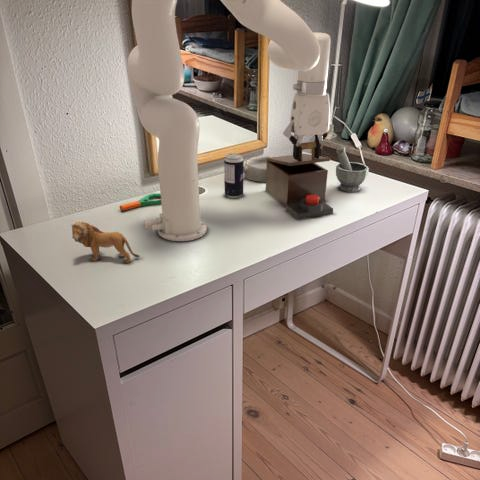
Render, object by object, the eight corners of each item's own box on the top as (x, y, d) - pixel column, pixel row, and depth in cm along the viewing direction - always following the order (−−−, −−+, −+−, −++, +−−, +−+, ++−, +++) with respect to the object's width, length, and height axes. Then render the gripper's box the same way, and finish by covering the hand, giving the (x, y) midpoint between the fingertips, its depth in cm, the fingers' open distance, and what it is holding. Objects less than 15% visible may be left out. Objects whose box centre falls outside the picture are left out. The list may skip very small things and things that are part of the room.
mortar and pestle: (371, 188, 153) (377, 149, 147) (354, 196, 148) (360, 156, 141) (341, 180, 160) (345, 142, 153) (324, 187, 154) (328, 148, 147)
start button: (309, 206, 133) (310, 200, 132) (303, 201, 136) (303, 195, 135) (321, 204, 134) (321, 198, 133) (314, 200, 137) (315, 194, 136)
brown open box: (324, 201, 144) (328, 170, 139) (286, 207, 140) (288, 175, 135) (301, 185, 155) (303, 156, 150) (265, 190, 151) (266, 160, 146)
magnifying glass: (159, 195, 148) (159, 190, 147) (171, 201, 144) (171, 195, 143) (115, 208, 139) (115, 202, 138) (127, 214, 136) (126, 208, 135)
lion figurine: (74, 263, 112) (66, 227, 107) (80, 252, 116) (73, 217, 111) (137, 263, 112) (133, 227, 107) (141, 253, 116) (137, 217, 111)
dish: (290, 173, 166) (291, 158, 163) (277, 185, 155) (278, 170, 152) (251, 167, 170) (251, 153, 167) (236, 180, 160) (236, 164, 157)
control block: (299, 221, 132) (300, 208, 130) (286, 210, 138) (287, 198, 136) (334, 215, 136) (335, 203, 134) (320, 205, 142) (321, 193, 140)
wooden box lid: (330, 160, 137) (330, 140, 135) (290, 165, 133) (289, 145, 131) (303, 156, 150) (303, 137, 148) (266, 160, 146) (265, 141, 144)
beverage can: (243, 199, 146) (243, 158, 139) (224, 199, 146) (223, 158, 139) (243, 192, 150) (243, 153, 143) (225, 192, 150) (224, 152, 143)
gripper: (289, 92, 121) (285, 166, 131) (347, 88, 126) (339, 158, 136) (275, 87, 126) (273, 158, 137) (332, 83, 132) (325, 151, 142)
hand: (306, 157), depth 136 cm, fingers closed on wooden box lid, 5 cm apart
